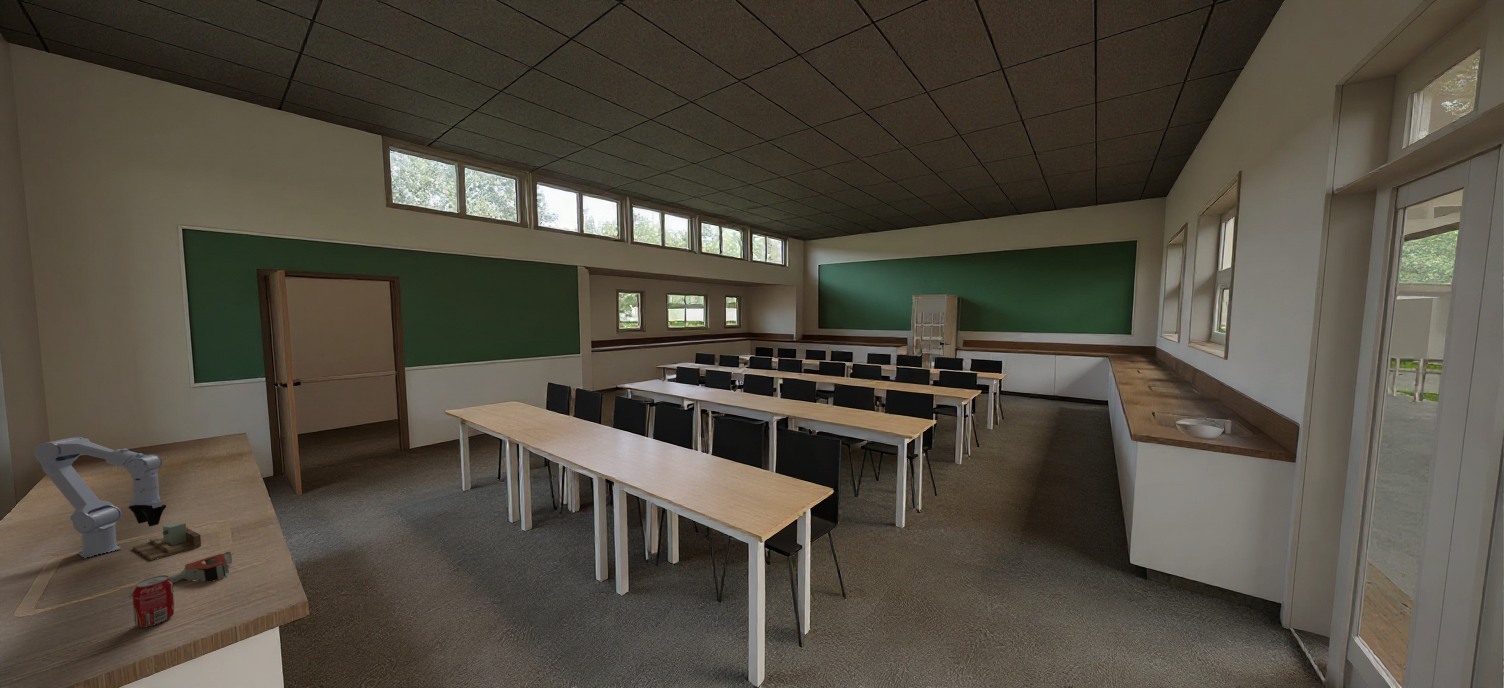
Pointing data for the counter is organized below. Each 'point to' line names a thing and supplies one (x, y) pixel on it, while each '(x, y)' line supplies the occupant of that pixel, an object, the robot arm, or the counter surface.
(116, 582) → the counter surface
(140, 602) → the soda can
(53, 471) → the robot arm
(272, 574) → the counter surface
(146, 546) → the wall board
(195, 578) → the tape dispenser
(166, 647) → the counter surface
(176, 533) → the cabinet block
